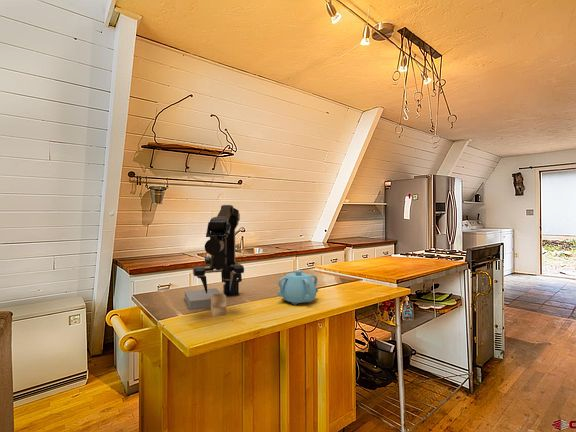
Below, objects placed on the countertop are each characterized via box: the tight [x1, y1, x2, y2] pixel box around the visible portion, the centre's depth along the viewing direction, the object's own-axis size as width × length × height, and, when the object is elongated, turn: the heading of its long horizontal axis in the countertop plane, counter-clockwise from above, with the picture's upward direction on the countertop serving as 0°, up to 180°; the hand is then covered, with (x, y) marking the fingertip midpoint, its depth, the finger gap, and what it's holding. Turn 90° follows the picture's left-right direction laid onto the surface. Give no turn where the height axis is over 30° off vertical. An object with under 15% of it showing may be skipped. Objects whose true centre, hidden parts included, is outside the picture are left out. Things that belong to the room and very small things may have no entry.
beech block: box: [210, 292, 227, 317], centre depth 122 cm, size 5×5×7 cm
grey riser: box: [184, 287, 222, 311], centre depth 137 cm, size 14×18×4 cm
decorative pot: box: [277, 269, 319, 305], centre depth 140 cm, size 16×16×14 cm
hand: (218, 292), depth 122 cm, fingers open, 9 cm apart
